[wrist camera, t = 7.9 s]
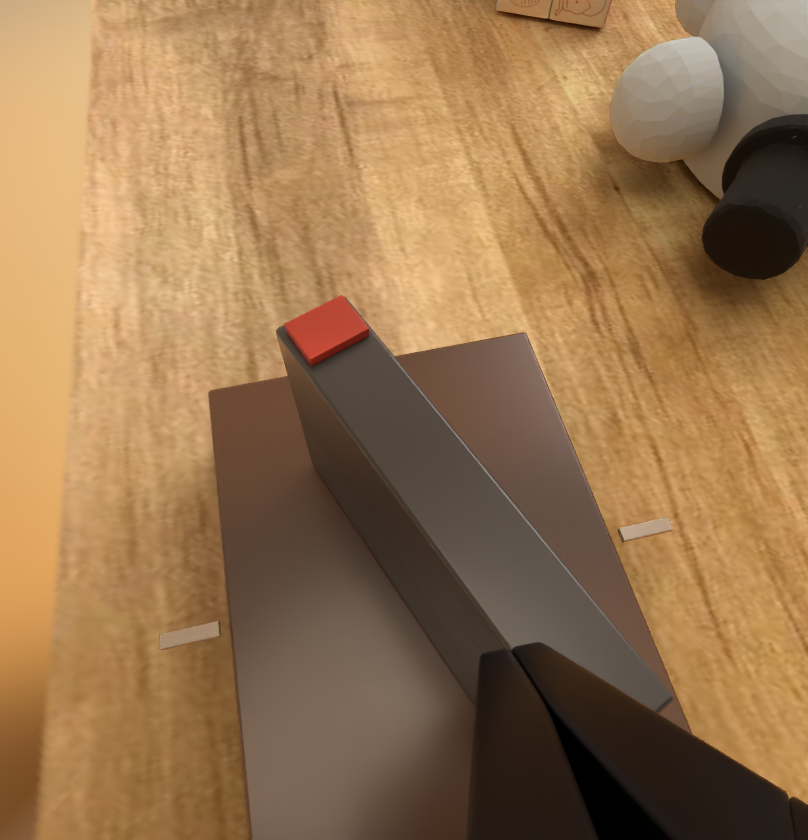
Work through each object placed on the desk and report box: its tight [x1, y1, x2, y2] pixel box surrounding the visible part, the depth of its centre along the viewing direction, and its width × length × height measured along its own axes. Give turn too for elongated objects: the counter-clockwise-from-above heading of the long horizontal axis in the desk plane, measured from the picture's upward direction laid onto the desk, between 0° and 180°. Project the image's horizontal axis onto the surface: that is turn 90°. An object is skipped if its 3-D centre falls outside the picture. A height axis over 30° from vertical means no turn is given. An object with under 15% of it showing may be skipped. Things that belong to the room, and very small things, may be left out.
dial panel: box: [159, 332, 692, 840], centre depth 17 cm, size 14×13×3 cm
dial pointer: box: [276, 295, 674, 714], centre depth 13 cm, size 9×2×6 cm, turn 34°
